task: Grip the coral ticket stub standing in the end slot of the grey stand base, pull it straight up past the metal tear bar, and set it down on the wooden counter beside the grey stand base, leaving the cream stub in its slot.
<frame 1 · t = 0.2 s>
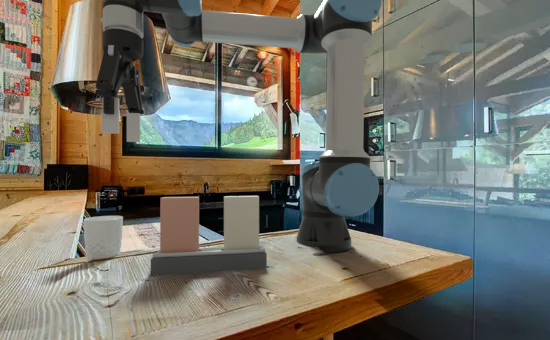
hand: (123, 138, 60), 28 cm above the counter, fingers open, 13 cm apart
white cup: (103, 262, 68), on the counter
grey stand base: (211, 274, 58), on the counter
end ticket: (180, 268, 57), point 1 cm above the counter, touching grey stand base
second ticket: (241, 265, 60), point 1 cm above the counter, touching grey stand base
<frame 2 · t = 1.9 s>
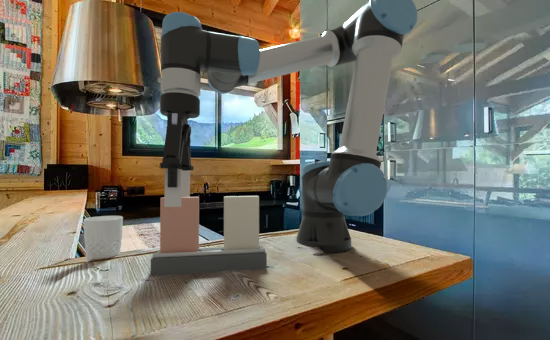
hand: (178, 203, 58), 14 cm above the counter, fingers open, 13 cm apart
nothing on the counter moved.
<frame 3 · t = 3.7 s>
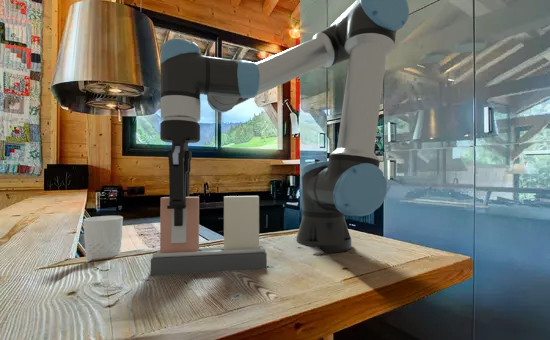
hand: (180, 240, 57), 7 cm above the counter, fingers closed on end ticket, 2 cm apart
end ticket: (180, 268, 57), point 2 cm above the counter, touching grey stand base, gripper
everything else where it was.
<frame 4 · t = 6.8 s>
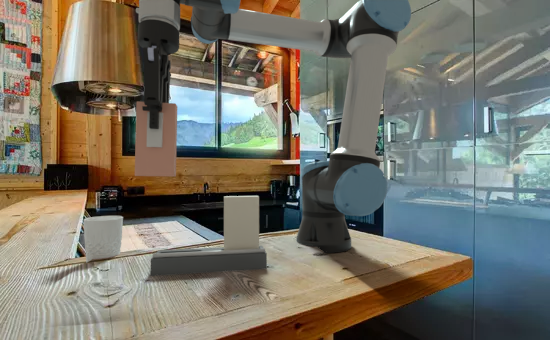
hand: (156, 147, 56), 25 cm above the counter, fingers closed on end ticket, 2 cm apart
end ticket: (155, 176, 56), point 20 cm above the counter, touching gripper
everything else where it was.
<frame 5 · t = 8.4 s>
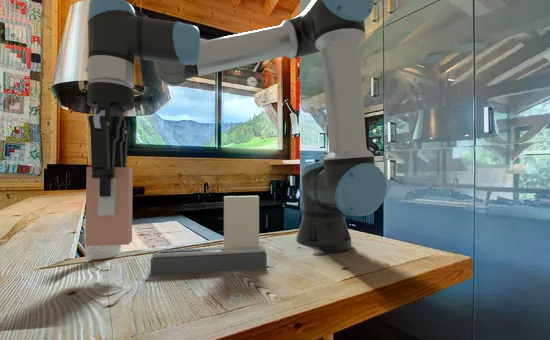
hand: (110, 213, 53), 13 cm above the counter, fingers closed on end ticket, 2 cm apart
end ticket: (109, 243, 53), point 7 cm above the counter, touching gripper
everything else where it was.
when the fingers open (8 cm above the counter, at t = 9.7 s): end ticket drops 2 cm, on the counter.
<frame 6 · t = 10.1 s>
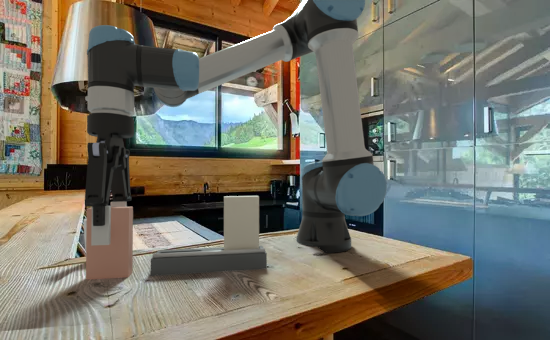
hand: (110, 239, 53), 8 cm above the counter, fingers open, 8 cm apart
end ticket: (109, 284, 53), on the counter
everything else where it was.
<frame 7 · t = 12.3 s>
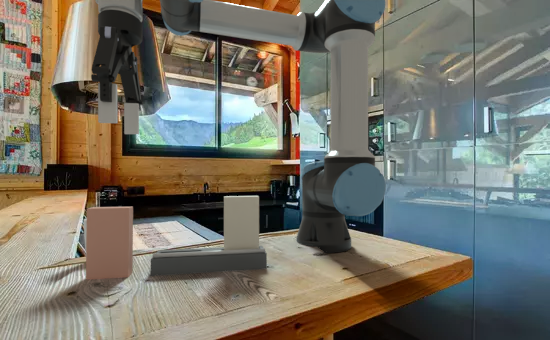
hand: (121, 129, 55), 29 cm above the counter, fingers open, 13 cm apart
nothing on the counter moved.
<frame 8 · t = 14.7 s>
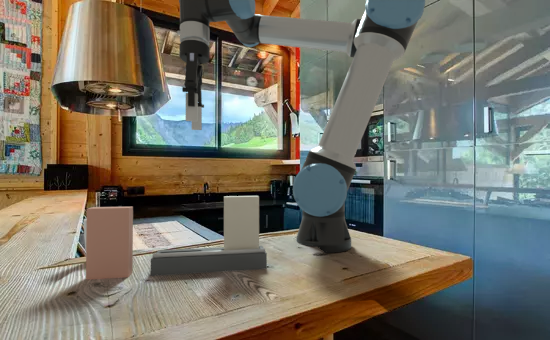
hand: (194, 125, 76), 33 cm above the counter, fingers open, 13 cm apart
nothing on the counter moved.
at the end: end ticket inside the target area (0.0 cm from its centre), on the counter; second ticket moved 0.1 cm from its start; the gripper is holding nothing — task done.
